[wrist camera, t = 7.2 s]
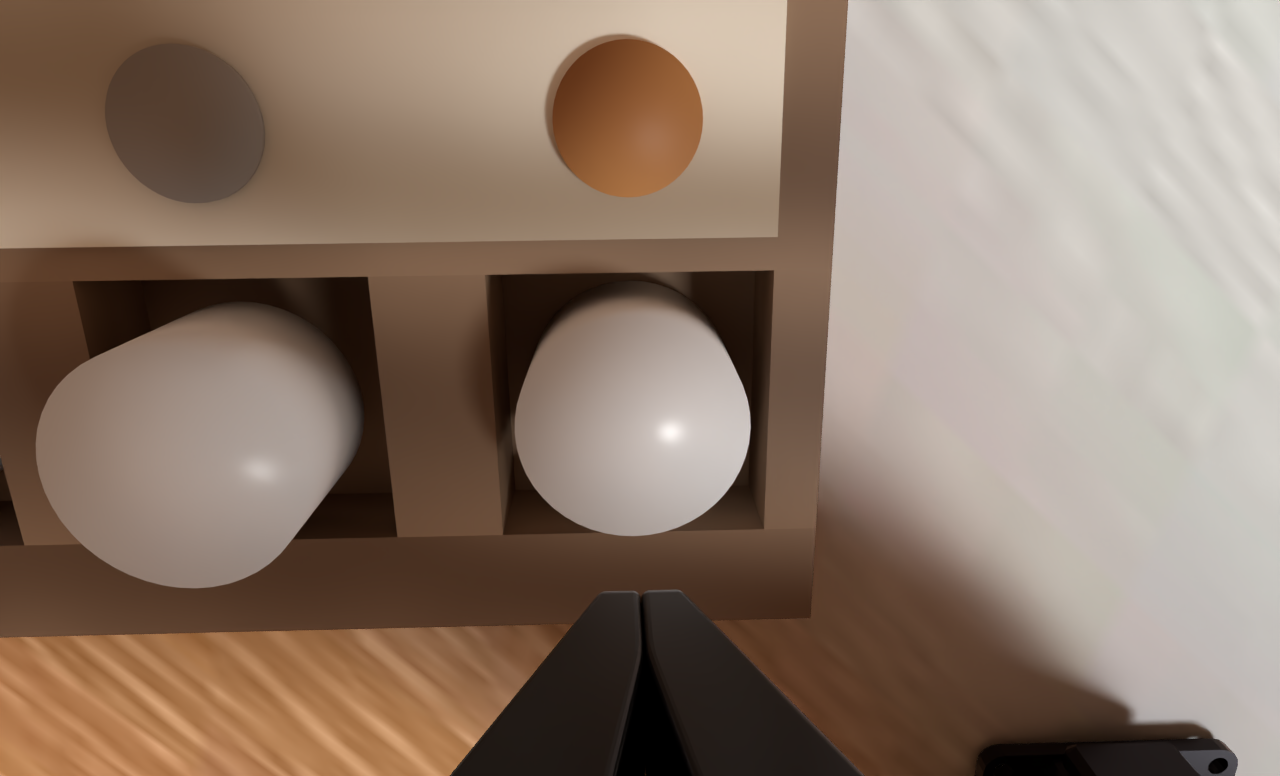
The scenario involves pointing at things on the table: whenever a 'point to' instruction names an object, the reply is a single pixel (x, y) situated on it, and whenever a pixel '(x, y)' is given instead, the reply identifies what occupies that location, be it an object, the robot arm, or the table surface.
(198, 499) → the button middle
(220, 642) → the table surface
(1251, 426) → the table surface
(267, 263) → the button board
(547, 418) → the button
